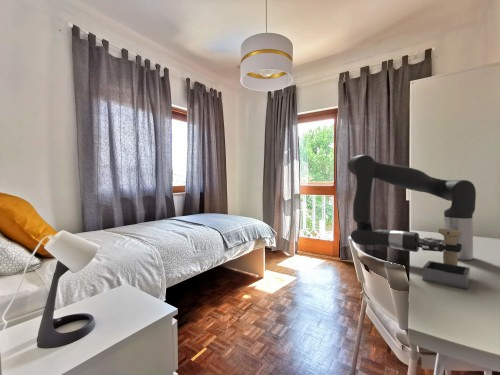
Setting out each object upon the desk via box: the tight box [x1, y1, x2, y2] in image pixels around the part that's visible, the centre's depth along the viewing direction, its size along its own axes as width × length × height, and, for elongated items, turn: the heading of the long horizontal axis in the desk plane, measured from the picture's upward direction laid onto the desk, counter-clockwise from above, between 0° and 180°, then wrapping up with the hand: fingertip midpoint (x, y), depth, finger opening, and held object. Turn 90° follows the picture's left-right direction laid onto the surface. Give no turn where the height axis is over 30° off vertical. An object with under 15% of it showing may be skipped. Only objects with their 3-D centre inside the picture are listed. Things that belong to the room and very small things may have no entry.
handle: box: [438, 228, 462, 266], centre depth 84 cm, size 5×6×15 cm
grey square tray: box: [421, 260, 471, 291], centre depth 77 cm, size 11×11×4 cm
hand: (460, 248), depth 82 cm, fingers closed on handle, 3 cm apart
